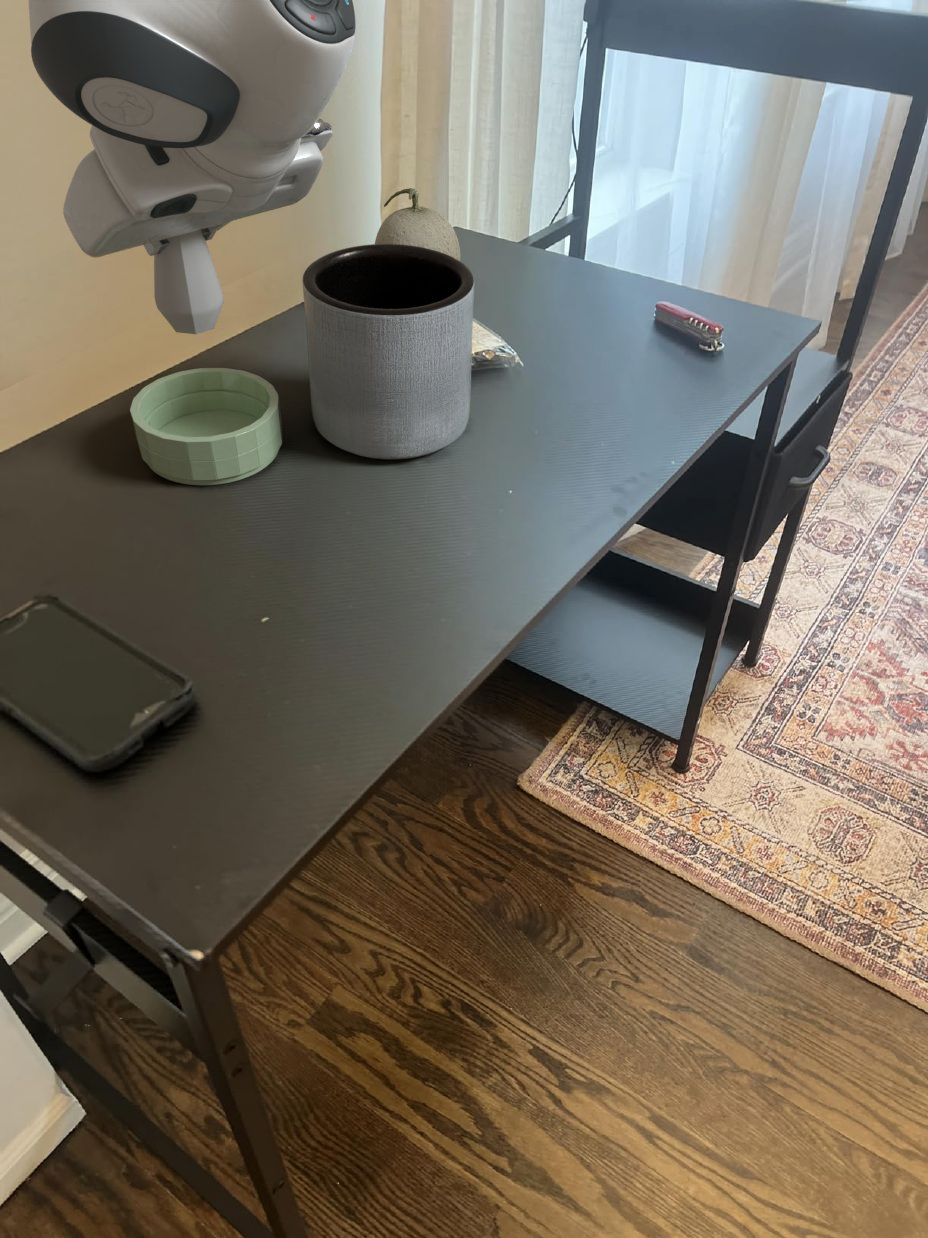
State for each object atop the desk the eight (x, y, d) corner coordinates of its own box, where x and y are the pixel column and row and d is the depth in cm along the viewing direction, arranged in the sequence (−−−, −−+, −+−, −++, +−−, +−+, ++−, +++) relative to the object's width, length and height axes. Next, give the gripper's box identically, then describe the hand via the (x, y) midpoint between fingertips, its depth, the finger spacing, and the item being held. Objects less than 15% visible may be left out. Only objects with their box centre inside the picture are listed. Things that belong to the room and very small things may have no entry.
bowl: (155, 500, 85) (144, 453, 81) (130, 426, 94) (119, 381, 90) (300, 470, 89) (295, 424, 86) (262, 401, 98) (257, 358, 95)
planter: (282, 415, 96) (266, 267, 85) (404, 370, 104) (403, 229, 93) (376, 486, 88) (371, 331, 77) (501, 430, 95) (512, 283, 85)
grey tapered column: (146, 330, 81) (113, 172, 72) (184, 304, 85) (157, 151, 76) (203, 343, 79) (176, 184, 71) (240, 317, 83) (218, 162, 75)
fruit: (419, 276, 123) (420, 155, 113) (475, 307, 116) (481, 182, 106) (354, 296, 118) (348, 170, 107) (409, 329, 111) (408, 200, 101)
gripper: (320, 78, 71) (260, 178, 83) (68, 125, 60) (40, 233, 72) (360, 155, 72) (295, 244, 83) (118, 215, 61) (82, 308, 73)
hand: (175, 239), depth 78 cm, fingers closed on grey tapered column, 3 cm apart
